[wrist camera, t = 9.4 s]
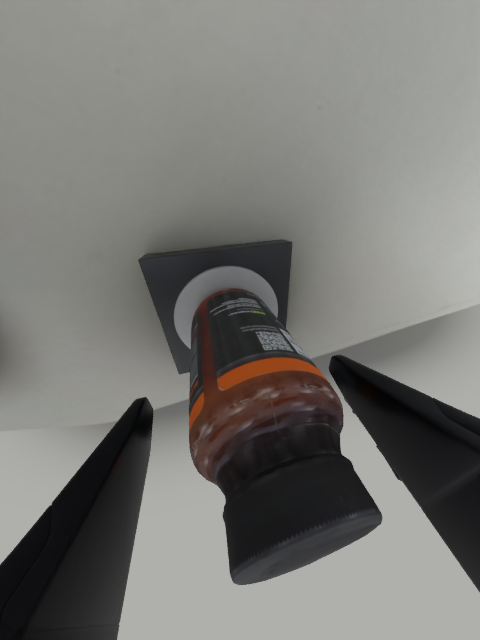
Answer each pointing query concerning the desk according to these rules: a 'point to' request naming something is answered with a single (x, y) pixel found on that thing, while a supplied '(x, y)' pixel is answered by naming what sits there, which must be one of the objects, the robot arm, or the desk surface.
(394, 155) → the desk surface
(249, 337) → the supplement bottle
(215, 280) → the scale
